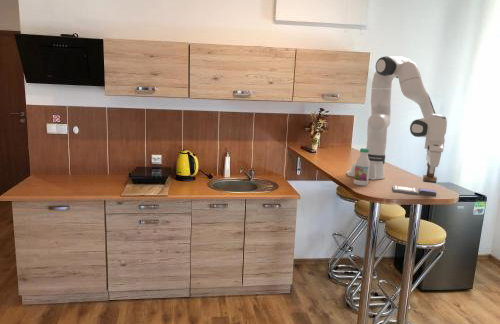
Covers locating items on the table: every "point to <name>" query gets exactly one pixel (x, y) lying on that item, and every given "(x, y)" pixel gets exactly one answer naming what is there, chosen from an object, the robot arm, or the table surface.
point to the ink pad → (427, 192)
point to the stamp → (429, 176)
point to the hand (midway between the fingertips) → (430, 172)
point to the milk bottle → (362, 168)
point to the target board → (405, 190)
